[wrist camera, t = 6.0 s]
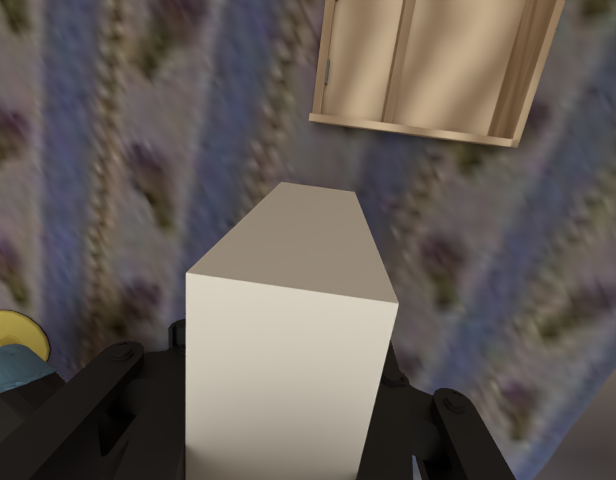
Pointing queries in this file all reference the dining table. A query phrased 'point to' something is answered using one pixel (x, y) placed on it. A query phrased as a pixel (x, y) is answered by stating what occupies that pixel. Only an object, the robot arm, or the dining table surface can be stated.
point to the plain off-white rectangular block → (286, 341)
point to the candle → (23, 333)
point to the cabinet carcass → (433, 66)
